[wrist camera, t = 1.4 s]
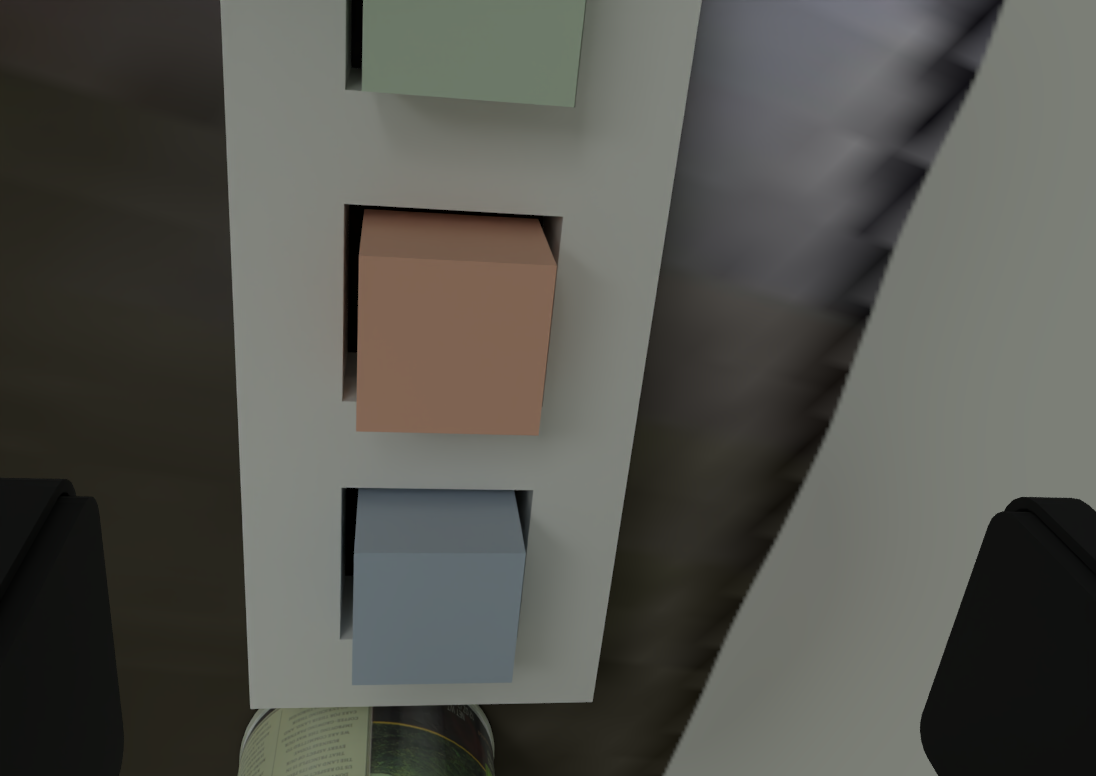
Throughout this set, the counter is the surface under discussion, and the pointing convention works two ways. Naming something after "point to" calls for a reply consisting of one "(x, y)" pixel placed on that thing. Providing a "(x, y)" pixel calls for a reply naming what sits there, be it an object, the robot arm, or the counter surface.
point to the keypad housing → (331, 371)
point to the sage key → (474, 49)
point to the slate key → (436, 586)
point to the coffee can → (369, 742)
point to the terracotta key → (452, 323)
